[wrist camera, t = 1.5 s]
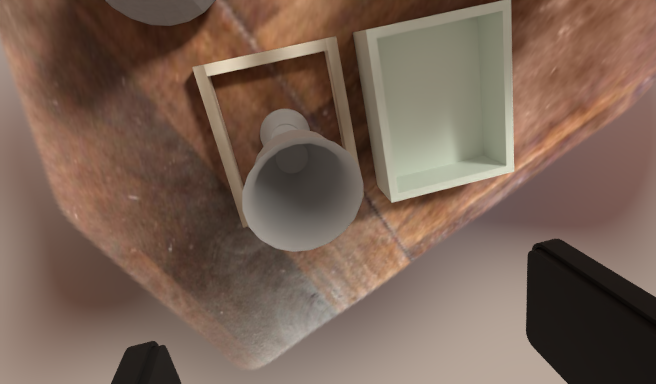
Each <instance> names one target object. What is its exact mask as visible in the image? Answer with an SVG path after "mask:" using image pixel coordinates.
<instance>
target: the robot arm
mask: <svg viewBox="0 0 656 384" xmlns="http://www.w3.org/2000/svg"><path fill="white" fill-rule="evenodd" d="M527 265H528V266H527V313H526V316H527V317H526V318H527V319H526V334H527V338H528V340H529V342H530V343H531V345H532V346H533V347H534V348H535V349H536V350H537V352H538V353H539V354H540V355H541V356H542V357H543V358H544V359H545V360H546V361H547V362H548V363H549V364H550V365H551V366H552V367H553V368H554V370H555V371H556V372H557V373H558V374H559V375H560V376H561V377H562V378H563V379H564V380H565V381H566V382H567V383H568V384H656V297H654V296H653V295H651V294H649V293H648V292H646V291H644V290H643V289H641V288H639V287H638V286H636V285H634V284H633V283H631V282H630V281H628V280H626V279H625V278H623V277H621V276H620V275H618V274H616V273H615V272H613V271H612V270H610V269H608V268H606V267H605V266H603V265H602V264H600V263H598V262H596V261H595V260H594V259H592V258H590V257H588V256H587V255H585V254H584V253H582V252H580V251H579V250H577V249H575V248H574V247H572V246H570V245H569V244H567V243H565V242H564V241H562V240H560V239H552V240H549V241H544V242H541V243H536V244H535V245H534V246H533V248H532V251H530V252H529V253H528V264H527ZM111 384H181V382H180V379H179V376H178V374H177V372H176V369H175V367H174V365H173V362H172V360H171V357H170V355H169V352H168V350H167V348H166V346H165V345H161V346H158V344H157V343H156V342H155V341H151V342H147V343H143V344H139V345H135V346H131V347H129V348H127V350H126V351H125V353H124V355H123V358H122V360H121V362H120V364H119V367H118V369H117V371H116V374H115V376H114V378H113V380H112V383H111Z"/></svg>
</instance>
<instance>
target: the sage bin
mask: <svg viewBox="0 0 656 384" xmlns="http://www.w3.org/2000/svg"><path fill="white" fill-rule="evenodd" d="M353 38H354V45H355V51H356V57H357V63H358V69H359V76H360V82H361V88H362V94H363V100H364V106H365V113H366V119H367V125H368V131H369V137H370V143H371V150H372V156H373V162H374V168H375V174H376V181H377V186H378V187H379V189H380V190H381V191H382V192H383V193H384V194H385V196H386V197H387V198H388V199H389V200H390V201H391V203H393V202H397V201H401V200H405V199H408V198H412V197H416V196H420V195H424V194H428V193H432V192H436V191H440V190H444V189H448V188H451V187H455V186H459V185H463V184H467V183H471V182H475V181H479V180H483V179H487V178H491V177H495V176H498V175H502V174H506V173H510V172H514V140H513V82H512V25H511V0H502V1H497V2H492V3H487V4H483V5H478V6H473V7H469V8H464V9H459V10H455V11H450V12H445V13H441V14H436V15H432V16H427V17H422V18H418V19H413V20H408V21H404V22H399V23H394V24H390V25H385V26H381V27H376V28H371V29H367V30H362V31H357V32H353Z"/></svg>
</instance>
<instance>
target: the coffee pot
mask: <svg viewBox="0 0 656 384" xmlns="http://www.w3.org/2000/svg"><path fill="white" fill-rule="evenodd" d="M105 1H106V2H107V3H108V4H109V5H110V6H111V7H112V8H114V9H116V10H118V11H119V12H121V13H123V14H124V15H126V16H128V17H129V18H131V19H134V20H137V21H140V22H143V23H147V24H150V25H164V26H172V25H176V24H180V23H185V22H189V21H190V20H192V19H194V18H196V17H197V16H199V15H201V14H203V13H204V12H205V11H206V10H207V9H208V8H209V7H210V6H211V5H212V4H213V3H214V1H215V0H105Z"/></svg>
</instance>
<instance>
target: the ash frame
mask: <svg viewBox="0 0 656 384" xmlns="http://www.w3.org/2000/svg"><path fill="white" fill-rule="evenodd" d="M322 51H324V52H325V57H326V63H327V68H328V73H329V78H330V84H331V89H332V94H333V99H334V105H335V110H336V115H337V120H338V126H339V131H340V136H341V141H342V146H343V148H344V149H345V150H347V151H348V152H349V153H350V154H351V156H352V157H353V159H354V160H355V161H356V163H357V164H358V166H359V163H358V157H357V151H356V146H355V140H354V134H353V129H352V123H351V117H350V112H349V106H348V101H347V95H346V89H345V84H344V78H343V72H342V67H341V61H340V55H339V50H338V44H337V39H336V36H335V37H330V38H325V39H320V40H316V41H311V42H306V43H302V44H297V45H293V46H288V47H283V48H279V49H274V50H269V51H265V52H260V53H256V54H251V55H246V56H242V57H237V58H232V59H228V60H223V61H219V62H214V63H209V64H205V65H200V66H195V67H192V68H193V71H194V75H195V78H196V81H197V84H198V87H199V90H200V93H201V97H202V100H203V103H204V106H205V109H206V112H207V115H208V119H209V122H210V125H211V128H212V131H213V134H214V138H215V141H216V144H217V147H218V150H219V153H220V156H221V160H222V163H223V166H224V169H225V172H226V175H227V178H228V182H229V185H230V188H231V191H232V194H233V197H234V201H235V204H236V207H237V210H238V213H239V216H240V219H241V223H242V226H243V227H247V226H248V223H247V221H246V218H245V215H244V213H243V205H242V192H243V189H244V186H243V183H242V179H241V176H240V173H239V169H238V166H237V163H236V160H235V156H234V153H233V150H232V146H231V143H230V140H229V136H228V133H227V130H226V127H225V123H224V120H223V117H222V113H221V110H220V107H219V103H218V100H217V97H216V94H215V90H214V87H213V84H212V80H211V77H210V76H212V75H216V74H221V73H226V72H230V71H235V70H239V69H244V68H248V67H253V66H258V65H262V64H267V63H271V62H276V61H280V60H285V59H290V58H294V57H299V56H303V55H308V54H313V53H317V52H322ZM362 197H365V196H364V191H363V195H362Z"/></svg>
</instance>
